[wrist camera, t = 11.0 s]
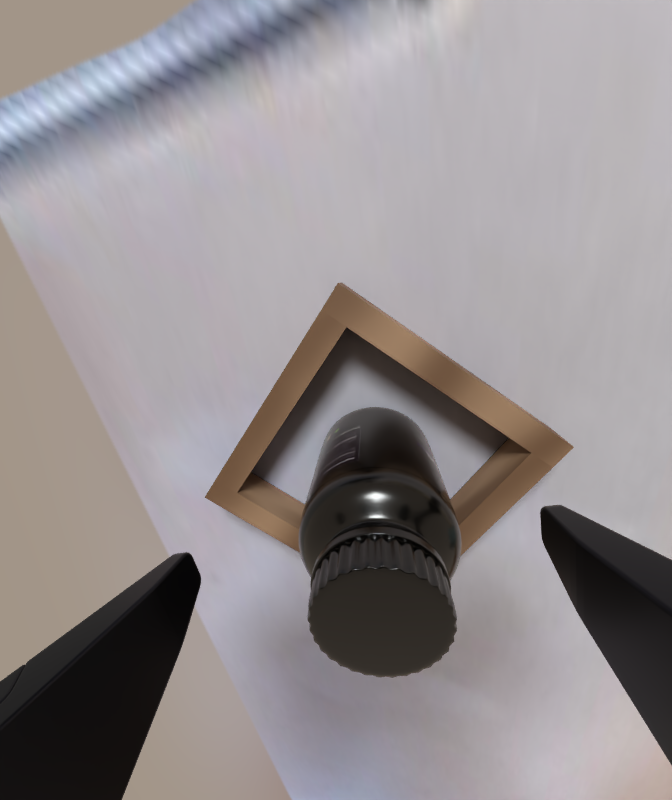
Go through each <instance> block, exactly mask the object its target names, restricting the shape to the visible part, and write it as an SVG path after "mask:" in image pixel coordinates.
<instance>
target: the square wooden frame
mask: <svg viewBox="0 0 672 800" xmlns="http://www.w3.org/2000/svg"><path fill="white" fill-rule="evenodd" d="M346 327H347V328H349V329H350V330H352V331H353V332H355V333H356V334H358V335H359V336H360V337H362V338H363V339H365V340H366V341H368V342H369V343H371V344H372V345H374V346H375V347H377V348H378V349H380V350H381V351H383V352H384V353H385V354H387V355H388V356H390V357H391V358H393V359H394V360H396V361H397V362H399V363H400V364H402V365H403V366H405V367H406V368H407V369H409V370H410V371H412V372H413V373H415V374H416V375H418V376H419V377H421V378H422V379H424V380H425V381H427V382H428V383H430V384H431V385H432V386H434V387H435V388H437V389H438V390H440V391H441V392H443V393H444V394H446V395H447V396H449V397H450V398H452V399H453V400H455V401H456V402H457V403H459V404H460V405H462V406H463V407H465V408H466V409H468V410H469V411H471V412H472V413H474V414H475V415H477V416H478V417H479V418H481V419H482V420H484V421H485V422H487V423H488V424H490V425H491V426H493V427H494V428H496V429H497V430H499V431H500V432H502V433H503V434H504V435H506V436H507V437H509V439H508V440H507V441H506V442H505V443H504V444H503V445H502V446H501V447H500V448H499V449H498V450H497V451H496V452H495V453H494V454H493V455H492V456H491V457H490V458H489V460H488V461H487V462H486V463H485V464H484V465H483V466H482V467H481V468H480V469H479V470H478V471H477V472H476V473H475V474H474V475H473V476H472V477H471V478H470V480H469V481H468V482H467V483H466V484H465V485H464V486H463V487H462V488H461V489H460V490H459V491H458V492H457V493H456V494H455V495H454V496H453V497H452V498H451V500H450V501H451V504H452V507H453V509H454V512H455V515H456V518H457V521H458V524H459V528H460V533H461V554H460V556H461V555H462V554H463V553H464V552H465V551H466V550H467V549H468V548H469V547H470V546H471V545H472V544H473V543H475V542H476V541H477V540H478V539H479V538H480V537H481V536H482V535H483V534H484V533H485V532H486V531H487V530H488V529H489V528H490V527H491V526H492V525H493V524H494V523H495V522H496V521H497V520H499V519H500V518H501V517H502V516H503V515H504V514H505V513H506V512H507V511H508V510H509V509H510V508H511V507H512V506H513V505H514V504H515V503H516V502H517V501H518V500H519V499H520V498H521V497H522V496H524V495H525V494H526V493H527V492H528V491H529V490H530V489H531V488H532V487H533V486H534V485H535V484H536V483H537V482H538V481H539V480H540V479H541V478H542V477H543V476H544V475H545V474H546V473H548V472H549V471H550V470H551V469H552V468H553V467H554V466H555V465H556V464H557V463H558V462H559V461H560V460H561V459H562V458H563V457H564V456H565V455H566V454H567V453H568V452H569V451H570V450H572V449H573V448H574V447H573V446H572V445H571V444H569V443H568V442H567V441H566V440H564V439H563V438H562V437H561V436H559V435H558V434H557V433H556V432H555V431H553V430H552V429H551V428H549V427H548V426H547V425H545V424H544V423H542V422H541V421H539V420H538V419H537V418H535V417H534V416H532V415H531V414H529V413H528V412H527V411H525V410H524V409H522V408H521V407H519V406H518V405H516V404H515V403H514V402H512V401H511V400H509V399H508V398H506V397H505V396H504V395H502V394H501V393H499V392H498V391H496V390H495V389H493V388H492V387H491V386H489V385H488V384H486V383H485V382H483V381H482V380H481V379H479V378H478V377H476V376H475V375H473V374H472V373H471V372H469V371H468V370H466V369H465V368H463V367H462V366H460V365H459V364H458V363H456V362H455V361H453V360H452V359H450V358H449V357H448V356H446V355H445V354H443V353H442V352H440V351H439V350H438V349H436V348H435V347H433V346H432V345H430V344H429V343H427V342H426V341H425V340H423V339H422V338H420V337H419V336H417V335H416V334H415V333H413V332H412V331H410V330H409V329H407V328H406V327H405V326H403V325H402V324H400V323H399V322H397V321H396V320H394V319H393V318H392V317H390V316H389V315H387V314H386V313H384V312H383V311H382V310H380V309H379V308H377V307H376V306H374V305H373V304H372V303H370V302H369V301H367V300H366V299H364V298H363V297H361V296H360V295H359V294H357V293H356V292H354V291H353V290H351V289H350V288H349V287H347V286H346V285H344V284H343V283H338V284H337V286H336V287H335V289H334V290H333V292H332V294H331V295H330V297H329V298H328V300H327V302H326V303H325V305H324V306H323V308H322V310H321V311H320V313H319V314H318V316H317V318H316V319H315V321H314V323H313V324H312V326H311V327H310V329H309V331H308V332H307V334H306V335H305V337H304V339H303V340H302V342H301V343H300V345H299V347H298V348H297V350H296V351H295V353H294V355H293V356H292V358H291V359H290V361H289V363H288V364H287V366H286V368H285V369H284V371H283V372H282V374H281V376H280V377H279V379H278V380H277V382H276V384H275V385H274V387H273V388H272V390H271V392H270V393H269V395H268V396H267V398H266V400H265V401H264V403H263V405H262V406H261V408H260V409H259V411H258V413H257V414H256V416H255V417H254V419H253V421H252V422H251V424H250V425H249V427H248V429H247V430H246V432H245V433H244V435H243V437H242V438H241V440H240V441H239V443H238V445H237V446H236V448H235V450H234V451H233V453H232V454H231V456H230V458H229V459H228V461H227V462H226V464H225V466H224V467H223V469H222V470H221V472H220V474H219V475H218V477H217V478H216V480H215V482H214V483H213V485H212V486H211V488H210V490H209V491H208V493H207V495H206V496H205V498H207V499H208V500H210V501H212V502H214V503H215V504H217V505H219V506H221V507H222V508H224V509H226V510H227V511H229V512H231V513H233V514H234V515H236V516H238V517H239V518H241V519H243V520H245V521H246V522H248V523H250V524H251V525H253V526H255V527H257V528H258V529H260V530H262V531H264V532H265V533H267V534H269V535H270V536H272V537H274V538H276V539H277V540H279V541H281V542H282V543H284V544H286V545H288V546H289V547H291V548H293V549H294V550H296V551H298V552H300V549H299V527H300V522H301V518H302V514H303V510H304V507H305V504H303V503H301V502H300V501H298V500H296V499H295V498H293V497H291V496H290V495H288V494H286V493H285V492H283V491H281V490H280V489H278V488H276V487H275V486H273V485H271V484H270V483H268V482H266V481H265V480H263V479H261V478H260V477H258V476H256V475H255V474H253V473H251V471H252V469H253V468H254V466H255V465H256V463H257V462H258V460H259V459H260V457H261V456H262V454H263V453H264V451H265V450H266V448H267V447H268V445H269V444H270V442H271V441H272V439H273V438H274V436H275V435H276V433H277V431H278V430H279V428H280V427H281V425H282V424H283V422H284V421H285V419H286V418H287V416H288V415H289V413H290V412H291V410H292V409H293V407H294V406H295V404H296V403H297V401H298V400H299V398H300V397H301V395H302V394H303V392H304V391H305V389H306V388H307V386H308V385H309V383H310V382H311V380H312V379H313V377H314V376H315V374H316V372H317V371H318V369H319V368H320V366H321V365H322V363H323V362H324V360H325V359H326V357H327V356H328V354H329V353H330V351H331V350H332V348H333V347H334V345H335V344H336V342H337V341H338V339H339V338H340V336H341V335H342V333H343V332H344V330H345V329H346Z"/></svg>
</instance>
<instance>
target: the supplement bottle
mask: <svg viewBox="0 0 672 800" xmlns="http://www.w3.org/2000/svg"><path fill="white" fill-rule="evenodd" d="M299 549H300V554H301V557H302V560H303V563H304V565H305V568H306V570H307V572H308V573H309V575H310V577H311V593H310V599H309V610H308V621H309V623H310V632H311V633H312V634H313V635H314V641H315V642H316V643H317V644H318V645H319V647H320V649H321V651H323V652H324V653H326V654H327V655H328V657H329V658H330V659H331V660H334V661H336V662H337V663H338V664H339V665H340V666H343V667H347V668H349V669H350V670H351V671H354V672H360V673H362V674H364V675H373V676H376V677H385V676H386V677H392V678H393V677H396V676H407V675H409V674H411V673H418V672H420V671H421V670H423V669H425V668H429V667H431V666H432V665H433V663H435V662H437V661H439V660H441V658H442V656H443V655H444V654H445V653H447V652H448V651H449V646H450V645H451V644H452V643H453V642H454V635H455V633H456V631H457V626H456V620H457V616H456V611H455V607H454V603H453V599H452V596H451V585H450V580H451V579H452V577H453V575H454V573H455V571H456V569H457V566H458V563H459V559H460V554H461V533H460V528H459V524H458V521H457V518H456V515H455V512H454V509H453V507H452V504H451V501H450V499H449V496H448V493H447V491H446V488H445V485H444V483H443V480H442V477H441V475H440V472H439V469H438V467H437V464H436V461H435V459H434V456H433V453H432V451H431V448H430V446H429V444H428V441H427V439H426V437H425V435H424V433H423V432H422V430H421V429H420V428H419V427H418V425H417V424H416V423H415V422H414V421H412V420H411V419H410V418H408V417H407V416H405V415H404V414H402V413H399V412H397V411H394V410H391V409H387V408H381V407H370V408H363V409H359V410H356V411H353V412H351V413H349V414H347V415H345V416H344V417H342V418H341V419H340V420H339V421H337V422H336V423H335V424H334V425H333V427H332V428H331V429H330V431H329V432H328V434H327V436H326V438H325V440H324V443H323V446H322V449H321V452H320V455H319V459H318V462H317V466H316V469H315V472H314V476H313V479H312V483H311V486H310V489H309V493H308V496H307V500H306V503H305V507H304V510H303V514H302V518H301V522H300V527H299Z"/></svg>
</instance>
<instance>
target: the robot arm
mask: <svg viewBox="0 0 672 800" xmlns="http://www.w3.org/2000/svg"><path fill="white" fill-rule="evenodd" d="M540 514H541V534H542V540H543V543H544V546H545V548H546V550H547V552H548V554H549V556H550V558H551V560H552V562H553V564H554V566H555V569H556V571H557V573H558V575H559V577H560V579H561V581H562V583H563V585H564V587H565V589H566V591H567V593H568V595H569V597H570V599H571V601H572V603H573V605H574V607H575V609H576V611H577V613H578V614H579V616H580V618H581V620H582V621H583V623H584V625H585V626H586V628H587V629H588V631H589V633H590V634H591V636H592V637H593V639H594V641H595V642H596V644H597V646H598V647H599V649H600V650H601V652H602V654H603V655H604V657H605V658H606V660H607V662H608V663H609V665H610V667H611V668H612V670H613V671H614V673H615V675H616V676H617V678H618V679H619V681H620V683H621V684H622V686H623V687H624V689H625V691H626V692H627V694H628V696H629V697H630V699H631V700H632V702H633V704H634V705H635V707H636V708H637V710H638V712H639V713H640V715H641V717H642V718H643V720H644V721H645V723H646V725H647V726H648V728H649V729H650V731H651V733H652V734H653V736H654V737H655V739H656V741H657V742H658V744H659V746H660V747H661V749H662V750H663V752H664V754H665V755H666V757H667V758H668V760H669V762H670V763H671V765H672V560H671V559H669V558H667V557H665V556H663V555H661V554H659V553H657V552H655V551H653V550H651V549H649V548H647V547H645V546H643V545H641V544H639V543H637V542H635V541H633V540H630V539H628V538H626V537H624V536H622V535H620V534H618V533H616V532H614V531H612V530H610V529H608V528H606V527H604V526H602V525H600V524H598V523H596V522H594V521H592V520H590V519H588V518H586V517H584V516H582V515H580V514H578V513H576V512H574V511H572V510H570V509H568V508H566V507H564V506H562V505H553V506H545V507H543V508H542V509H541V512H540ZM200 584H201V576H200V573H199V571H198V568H197V566H196V564H195V561H194V559H193V557H192V555H191V554H190V553H187V552H185V553H178V554H174V555H172V556H171V557H169V558H168V559H167V560H165V561H164V562H162V563H161V564H160V565H158V566H157V567H156V568H154V569H153V570H152V571H151V572H149V573H147V574H146V575H145V576H143V577H142V578H141V579H140V580H138V581H137V582H135V583H134V584H133V585H131V586H130V587H128V588H127V589H126V590H124V591H123V592H122V593H120V594H119V595H118V596H116V597H115V598H113V599H112V600H111V601H109V602H108V603H107V604H105V605H104V606H103V607H102V608H100V609H99V610H97V611H96V612H94V613H93V614H92V615H90V616H89V617H88V618H86V619H85V620H84V621H82V622H81V623H80V624H78V625H77V626H75V627H74V628H73V629H71V630H70V631H69V632H67V633H66V634H64V635H63V636H62V637H60V638H59V639H58V640H56V641H55V642H54V643H52V644H51V645H49V646H48V647H47V648H46V649H44V650H43V651H41V652H40V653H39V654H37V655H36V656H35V657H33V658H32V659H30V660H29V661H28V662H27V663H26V665H22V666H21V667H19V668H18V669H17V670H15V671H14V672H13V673H11V674H10V675H9V676H7V677H6V678H4V679H3V680H2V681H0V800H122V798H123V795H124V793H125V790H126V787H127V785H128V782H129V779H130V777H131V775H132V772H133V770H134V767H135V765H136V762H137V760H138V757H139V754H140V752H141V749H142V747H143V744H144V742H145V739H146V737H147V734H148V731H149V729H150V727H151V724H152V721H153V719H154V716H155V714H156V711H157V709H158V706H159V704H160V701H161V699H162V696H163V694H164V691H165V688H166V686H167V683H168V681H169V678H170V675H171V673H172V671H173V668H174V666H175V663H176V660H177V658H178V655H179V653H180V650H181V647H182V644H183V641H184V638H185V635H186V632H187V629H188V625H189V622H190V618H191V615H192V612H193V609H194V605H195V602H196V598H197V595H198V592H199V588H200Z"/></svg>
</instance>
